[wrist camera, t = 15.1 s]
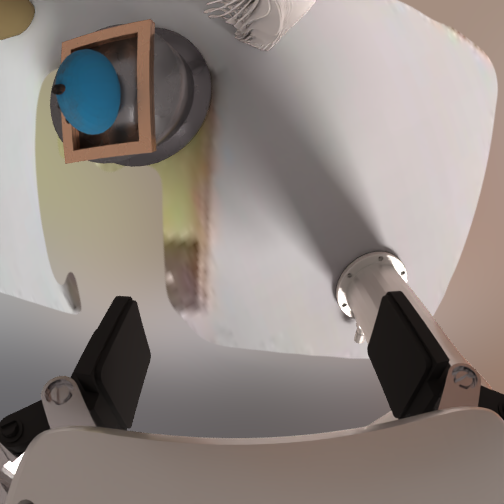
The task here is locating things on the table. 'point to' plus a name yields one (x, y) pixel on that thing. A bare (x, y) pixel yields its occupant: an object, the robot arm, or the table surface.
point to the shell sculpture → (263, 19)
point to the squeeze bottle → (15, 17)
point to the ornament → (88, 91)
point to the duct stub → (142, 96)
